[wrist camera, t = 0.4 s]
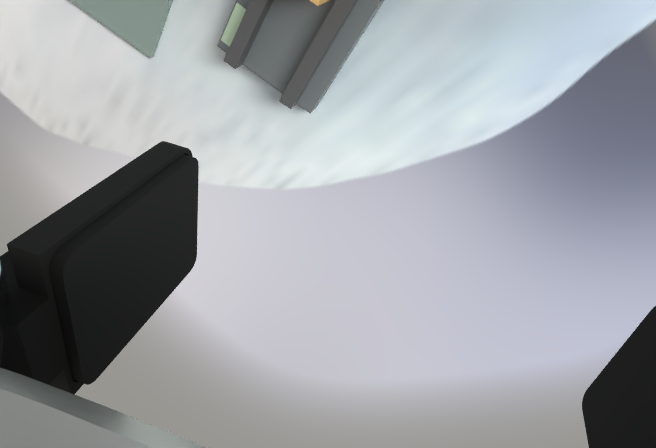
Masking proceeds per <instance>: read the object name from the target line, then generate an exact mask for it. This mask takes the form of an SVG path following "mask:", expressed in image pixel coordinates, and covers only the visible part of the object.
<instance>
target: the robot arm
mask: <svg viewBox="0 0 656 448" xmlns="http://www.w3.org/2000/svg"><path fill="white" fill-rule="evenodd" d="M197 212H198V161H197V159H196V158H194V157H192V153H191V151H190V150H189V149H188V148H184V147H181V146H178V145H175V144H172V143H168V142H164V141H163V142H160V143H158V144H157V145H155V146H154V147H152V148H151V149H149V150H148V151H146V152H145V153H143V154H142V155H140V156H139V157H137V158H136V159H134V160H133V161H131V162H130V163H128V164H127V165H125V166H124V167H122V168H121V169H119V170H118V171H116V172H115V173H113V174H112V175H110V176H109V177H107V178H106V179H104V180H103V181H101V182H100V183H98V184H97V185H96V186H94V187H92V188H91V189H89V190H88V191H86V192H85V193H83V194H82V195H80V196H79V197H77V198H76V199H74V200H73V201H71V202H70V203H68V204H67V205H65V206H64V207H62V208H61V209H59V210H58V211H56V212H54V213H53V214H51V215H50V216H49V217H47V218H45V219H44V220H42V221H41V222H40V223H38V224H37V225H35V226H33V227H32V228H30V229H29V230H27V231H26V232H24V233H23V234H21V235H20V236H18V237H17V238H15V239H14V240H13V241H11V242H9V243H8V244H7V247H8V250H9V251H8V252H6V253H5V254H3V255H2V256H0V448H208V447H206V446H203V445H201V444H198V443H196V442H193V441H191V440H188V439H186V438H183V437H181V436H178V435H176V434H173V433H171V432H168V431H166V430H163V429H161V428H158V427H155V426H153V425H151V424H148V423H146V422H143V421H140V420H138V419H135V418H133V417H131V416H128V415H125V414H123V413H121V412H118V411H116V410H113V409H110V408H108V407H105V406H103V405H100V404H97V403H95V402H92V401H90V400H87V399H84V398H82V397H79V396H77V395H74V394H75V393H76V392H77V391H78V390H79V388H80V387H81V386H82V385H83V384H91V383H92V382H94V381H95V380H96V379H97V378H98V377H99V376H100V374H101V373H102V372H103V371H104V370H105V369H106V368H107V366H108V365H109V364H110V363H111V362H112V361H113V360H114V358H115V357H116V356H117V355H118V354H119V353H120V352H121V350H122V349H123V348H124V347H125V346H126V345H127V343H128V342H129V341H130V340H131V339H132V338H133V337H134V335H135V334H136V333H137V332H138V331H139V330H140V329H141V327H142V326H143V325H144V324H145V323H146V322H147V320H148V319H149V318H150V317H151V316H152V315H153V313H154V312H155V311H156V310H157V309H158V308H159V307H160V305H161V304H162V303H163V302H164V301H165V300H166V298H167V297H168V296H169V295H170V294H171V293H172V292H173V291H174V289H175V288H176V287H177V286H178V285H179V284H180V282H181V281H182V280H183V279H184V278H185V277H186V275H187V274H188V273H189V272H190V271H191V269H192V268H193V266H194V264H195V261H196V256H197V214H198V213H197ZM582 410H583V416H584V421H585V427H586V433H587V439H588V444H589V448H656V306H655V307H654V308H653V309H652V310H651V311H650V312H649V313H648V315H647V316H646V317H645V318H644V320H643V321H642V322H641V323H640V325H639V326H638V327H637V329H636V330H635V331H634V332H633V333H632V335H631V336H630V337H629V338H628V339H627V341H626V342H625V343H624V344H623V346H622V347H621V348H620V349H619V351H618V352H617V353H616V354H615V356H614V357H613V358H612V359H611V361H610V362H609V363H608V364H607V365H606V367H605V368H604V369H603V371H602V372H601V373H600V374H599V375H598V377H597V378H596V379H595V380H594V382H593V383H592V384H591V385H590V387H589V388H588V389H587V390H586V392H585V394H584V397H583V401H582Z"/></svg>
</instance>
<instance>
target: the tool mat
mask: <svg viewBox="0 0 656 448" xmlns="http://www.w3.org/2000/svg"><path fill="white" fill-rule="evenodd" d="M69 1H70V2H72V3H73V4H75V5H76V6H77V7H79V8H80V9H82V10H83V11H84V12H86V13H87V14H89V15H90V16H91V17H93V18H94V19H96V20H97V21H98V22H100V23H101V24H103V25H104V26H105V27H107V28H108V29H110V30H111V31H112V32H114V33H115V34H117V35H118V36H119V37H121V38H122V39H124V40H125V41H126V42H128V43H129V44H131V45H132V46H133V47H135V48H136V49H138V50H139V51H140V52H142V53H143V54H145V55H146V56H147V57H149V58H152V57H153V56H154V54H155V51H156V48H157V45H158V42H159V39H160V36H161V33H162V30H163V27H164V24H165V21H166V18H167V16H168V13H169V10H170V7H171V4H172V1H173V0H69Z"/></svg>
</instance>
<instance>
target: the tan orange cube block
mask: <svg viewBox="0 0 656 448" xmlns="http://www.w3.org/2000/svg"><path fill="white" fill-rule="evenodd" d="M310 1H311V2H313V3H314V4H315V5H317V6H319V5H321V4H323V3H325V2H327V1H329V0H310Z"/></svg>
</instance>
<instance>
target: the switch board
mask: <svg viewBox="0 0 656 448" xmlns="http://www.w3.org/2000/svg"><path fill="white" fill-rule="evenodd" d="M383 1H384V0H329V1H327V2H325V3H323V4H321V5H319V6H317V5H315V4H314V3H313V2H311V1H310V0H237V1H236V4H235V6H234V8H233V11H232V13H231V15H230V18H229V20H228V22H227V25H226V27H225V29H224V32H223V34H222V36H221V39H220V41H219V43H218V47H219V48H221V49H222V50H223V51H225V52H226V53H227V54H226V56H225V58H224V61H225V62H226V63H228V64H229V65H230V66H232V67H233V68H235V69H236V68H238V67H239V66H241V65H244V66H245V67H247V68H248V69H250V70H251V71H252V72H254V73H255V74H256V75H258V76H259V77H261V78H262V79H263V80H265V81H266V82H267V83H269V84H270V85H272V86H273V87H274V88H276V89H277V90H278V91H280V92H281V93H283V95H282V97H281V99H280V100H279V101H280V102H282V103H283V104H284V105H286V106H287V107H288V108H290V109H291V108H292V107H293V106H294V105H295V104H298V105H299V106H301V107H302V108H303V109H305V110H306V111H307V112H309V113H311V112H312V111H313V110H314V109H315V108H316V107H317V106H318V104H319V102H320V101H321V99H322V98H323V96H324V95H325V93H326V91H327V90H328V88H329V87H330V85H331V83H332V82H333V80H334V79H335V77H336V75H337V74H338V72H339V71H340V69H341V68H342V66H343V64H344V63H345V61H346V60H347V58H348V56H349V55H350V53H351V52H352V50H353V49H354V47H355V45H356V44H357V42H358V41H359V39H360V37H361V36H362V34H363V33H364V31H365V29H366V28H367V26H368V25H369V23H370V22H371V20H372V18H373V17H374V15H375V14H376V12H377V10H378V9H379V7H380V6H381V4H382V2H383Z"/></svg>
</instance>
